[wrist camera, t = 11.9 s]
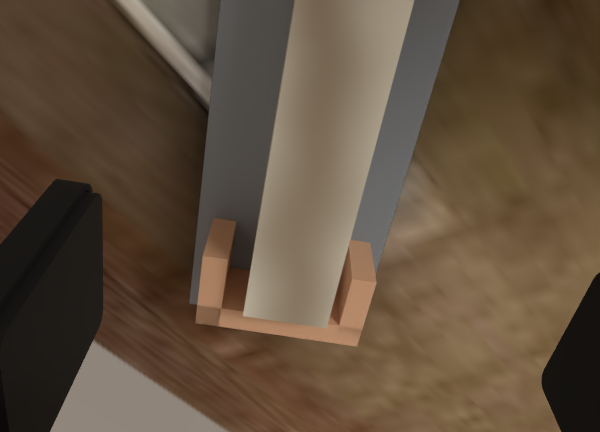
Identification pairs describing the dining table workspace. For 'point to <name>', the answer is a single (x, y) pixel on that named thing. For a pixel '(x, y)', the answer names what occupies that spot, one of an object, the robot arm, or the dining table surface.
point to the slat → (321, 152)
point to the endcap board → (255, 151)
